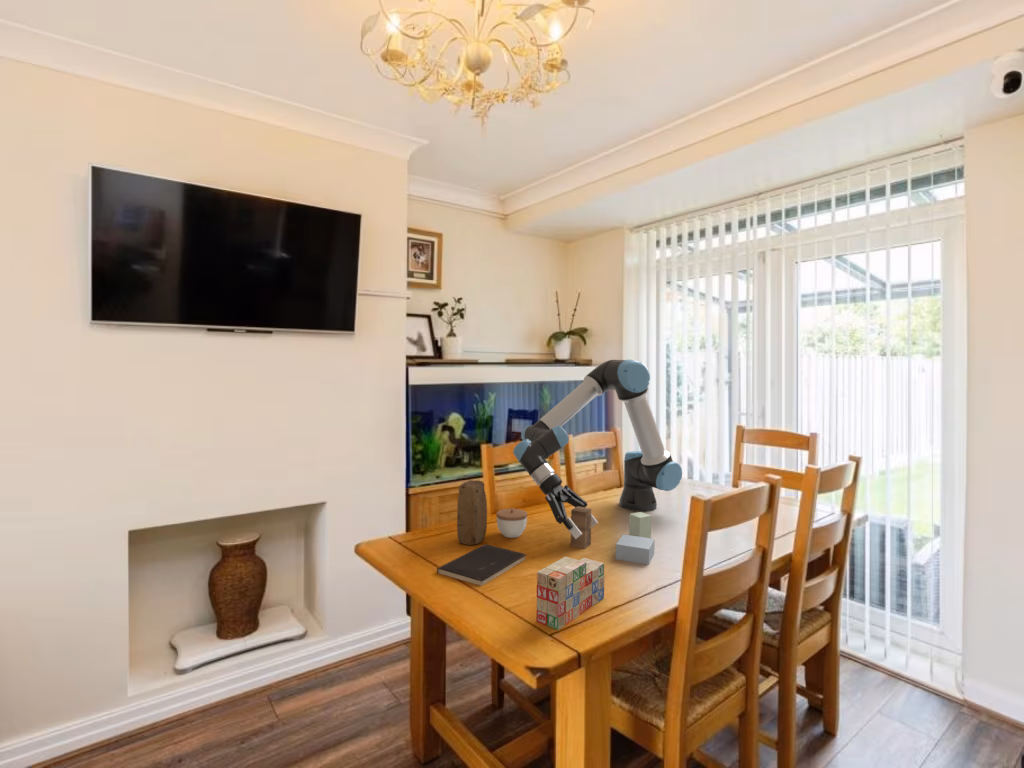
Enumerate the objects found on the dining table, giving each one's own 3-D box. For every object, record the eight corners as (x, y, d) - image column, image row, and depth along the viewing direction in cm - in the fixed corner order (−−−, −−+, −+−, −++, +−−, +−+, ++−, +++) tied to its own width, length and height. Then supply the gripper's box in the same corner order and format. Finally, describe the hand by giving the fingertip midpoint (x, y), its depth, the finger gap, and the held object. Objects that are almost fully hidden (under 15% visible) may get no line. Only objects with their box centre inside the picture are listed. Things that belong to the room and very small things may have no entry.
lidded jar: (533, 536, 184) (533, 509, 183) (506, 542, 178) (506, 514, 178) (516, 528, 193) (516, 502, 192) (490, 533, 187) (490, 506, 187)
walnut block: (576, 541, 180) (577, 506, 179) (590, 544, 177) (591, 508, 176) (570, 545, 175) (571, 509, 175) (584, 548, 173) (585, 512, 172)
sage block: (640, 537, 184) (640, 511, 184) (650, 542, 180) (651, 515, 179) (629, 539, 182) (629, 513, 181) (639, 544, 177) (640, 517, 177)
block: (474, 547, 173) (475, 486, 172) (454, 544, 176) (454, 484, 175) (489, 537, 183) (490, 479, 182) (470, 534, 186) (470, 477, 185)
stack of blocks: (583, 591, 142) (584, 545, 141) (604, 598, 138) (605, 551, 137) (535, 622, 125) (536, 570, 124) (558, 631, 121) (558, 578, 120)
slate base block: (622, 549, 173) (623, 534, 173) (654, 554, 169) (654, 539, 169) (615, 560, 164) (616, 544, 164) (648, 565, 160) (649, 549, 160)
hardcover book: (526, 561, 163) (526, 554, 163) (482, 588, 144) (482, 580, 144) (483, 550, 172) (484, 543, 172) (436, 575, 152) (436, 567, 152)
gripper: (555, 479, 194) (593, 526, 187) (522, 494, 172) (563, 548, 165) (569, 466, 191) (608, 514, 184) (536, 479, 169) (579, 534, 163)
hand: (587, 530), depth 175 cm, fingers open, 13 cm apart
